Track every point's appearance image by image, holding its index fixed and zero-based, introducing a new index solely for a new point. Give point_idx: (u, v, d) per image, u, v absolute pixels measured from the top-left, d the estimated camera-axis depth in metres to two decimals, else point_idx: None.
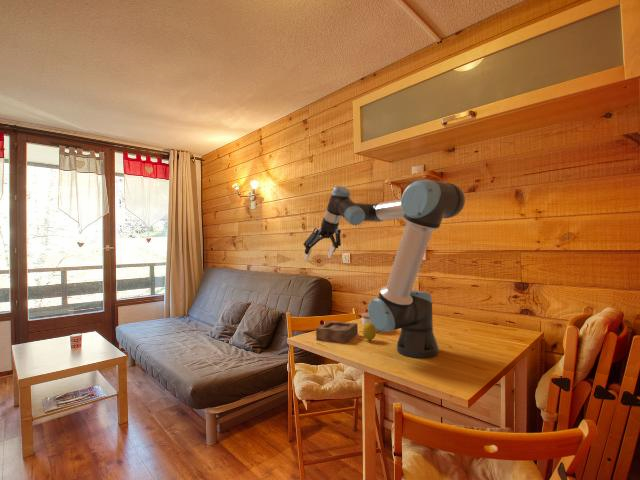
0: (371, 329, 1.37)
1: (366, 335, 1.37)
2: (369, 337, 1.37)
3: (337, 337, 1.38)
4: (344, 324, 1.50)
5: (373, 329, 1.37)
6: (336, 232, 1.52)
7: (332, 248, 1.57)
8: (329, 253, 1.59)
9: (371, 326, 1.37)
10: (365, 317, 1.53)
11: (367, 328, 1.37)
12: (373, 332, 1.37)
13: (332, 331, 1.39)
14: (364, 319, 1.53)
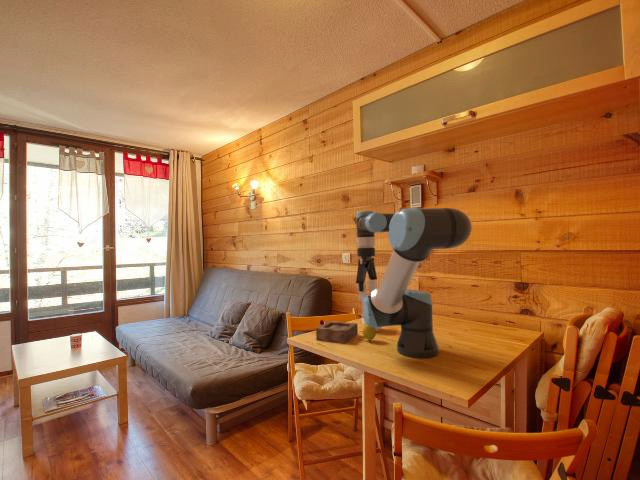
0: (371, 329, 1.37)
1: (366, 335, 1.37)
2: (369, 337, 1.37)
3: (337, 337, 1.38)
4: (344, 324, 1.50)
5: (373, 329, 1.37)
6: None
7: (372, 282, 1.45)
8: (371, 289, 1.45)
9: None
10: None
11: (367, 328, 1.37)
12: (373, 332, 1.37)
13: (332, 331, 1.39)
14: (364, 319, 1.53)
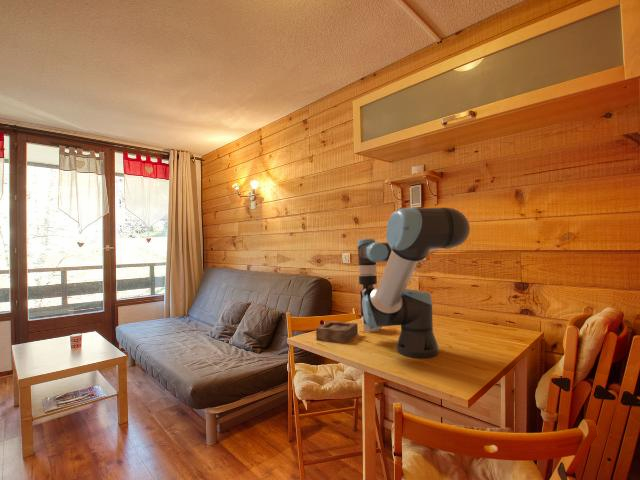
0: None
1: None
2: None
3: (337, 337, 1.38)
4: (344, 324, 1.50)
5: None
6: None
7: None
8: None
9: None
10: None
11: None
12: None
13: (332, 331, 1.39)
14: None
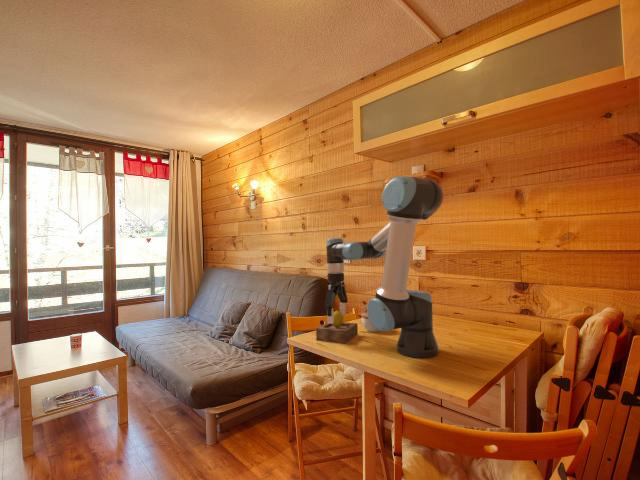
0: (338, 317, 1.44)
1: None
2: (336, 324, 1.44)
3: (337, 337, 1.38)
4: (344, 324, 1.50)
5: (340, 317, 1.44)
6: (341, 285, 1.51)
7: (343, 305, 1.52)
8: (341, 312, 1.52)
9: (338, 314, 1.44)
10: (365, 317, 1.53)
11: (335, 315, 1.44)
12: (340, 320, 1.44)
13: (332, 331, 1.39)
14: (364, 319, 1.53)
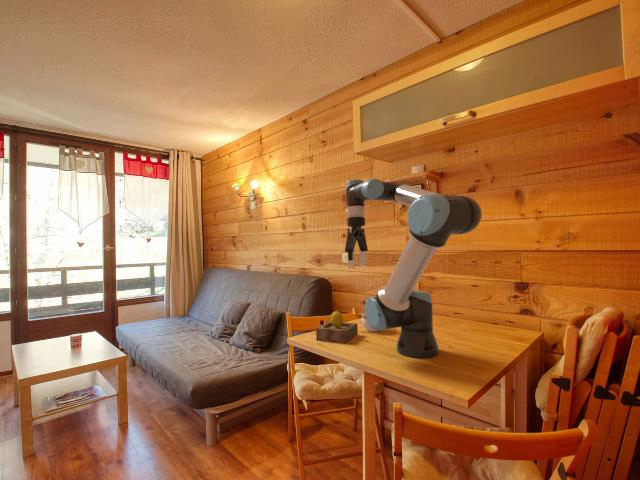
0: (338, 317, 1.43)
1: (333, 323, 1.44)
2: (336, 324, 1.44)
3: (337, 337, 1.38)
4: (344, 324, 1.50)
5: (340, 317, 1.44)
6: (361, 232, 1.42)
7: (363, 253, 1.43)
8: (361, 261, 1.43)
9: (338, 314, 1.44)
10: (365, 317, 1.53)
11: (334, 316, 1.44)
12: (340, 320, 1.44)
13: (332, 331, 1.39)
14: (364, 319, 1.53)
